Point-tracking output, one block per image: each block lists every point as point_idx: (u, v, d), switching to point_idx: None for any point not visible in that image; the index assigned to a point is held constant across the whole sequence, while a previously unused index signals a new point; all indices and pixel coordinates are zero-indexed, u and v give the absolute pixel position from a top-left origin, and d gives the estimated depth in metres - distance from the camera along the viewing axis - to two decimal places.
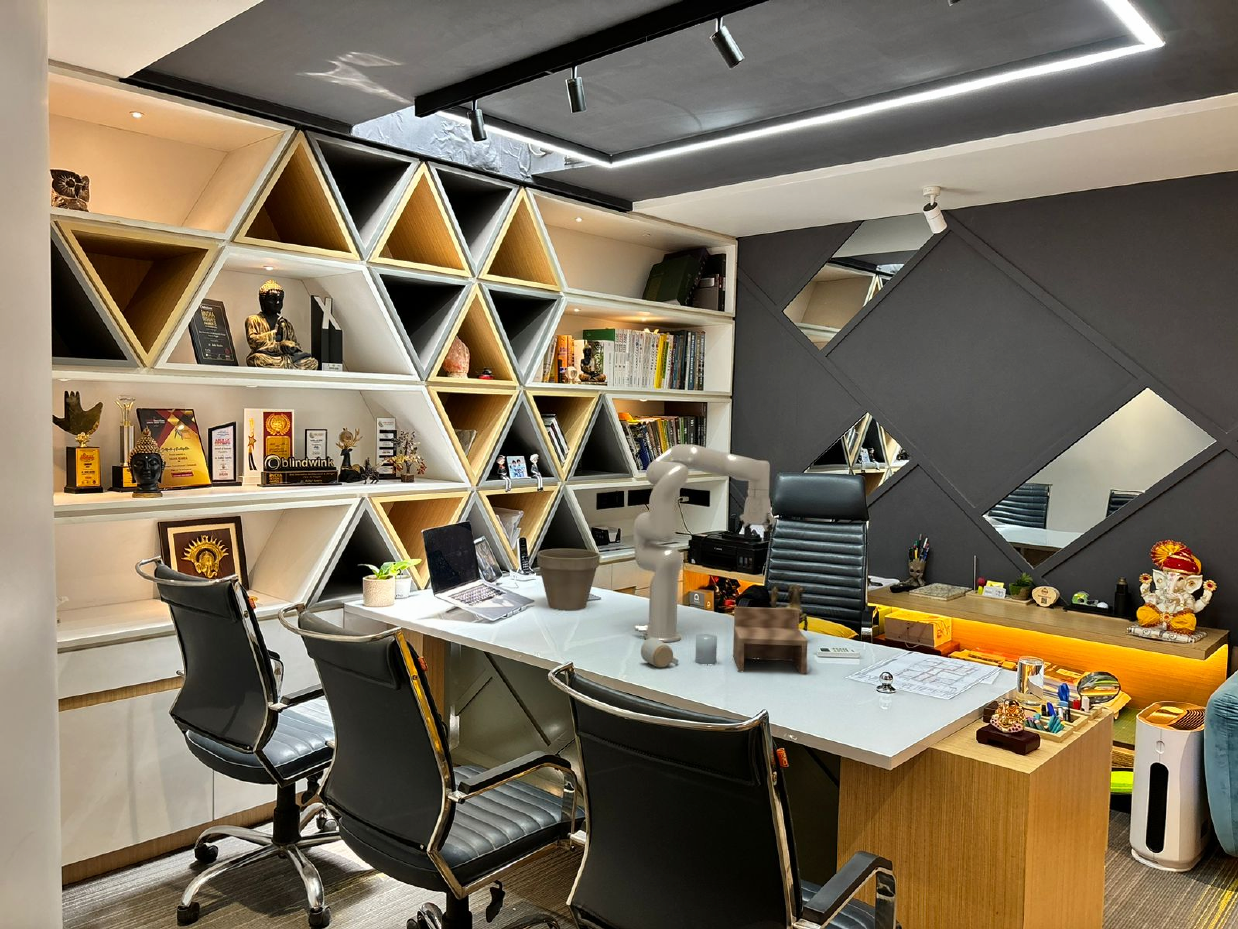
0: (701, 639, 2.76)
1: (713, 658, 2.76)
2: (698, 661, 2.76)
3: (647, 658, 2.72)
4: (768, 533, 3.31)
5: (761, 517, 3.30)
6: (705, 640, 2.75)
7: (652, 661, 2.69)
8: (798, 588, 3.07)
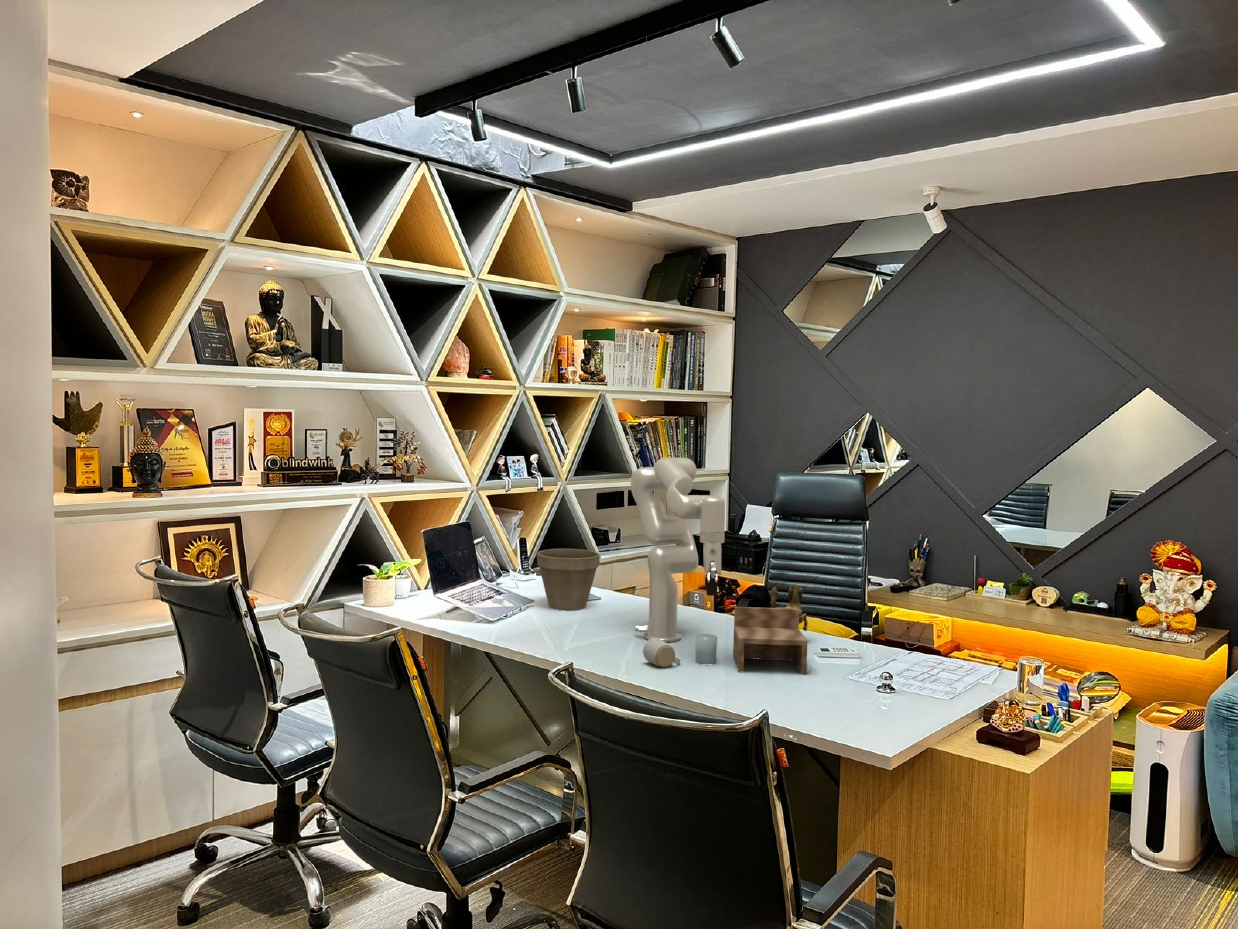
0: (701, 639, 2.76)
1: (713, 658, 2.76)
2: (698, 661, 2.76)
3: (649, 658, 2.72)
4: None
5: None
6: (705, 640, 2.75)
7: (654, 661, 2.70)
8: (798, 588, 3.06)
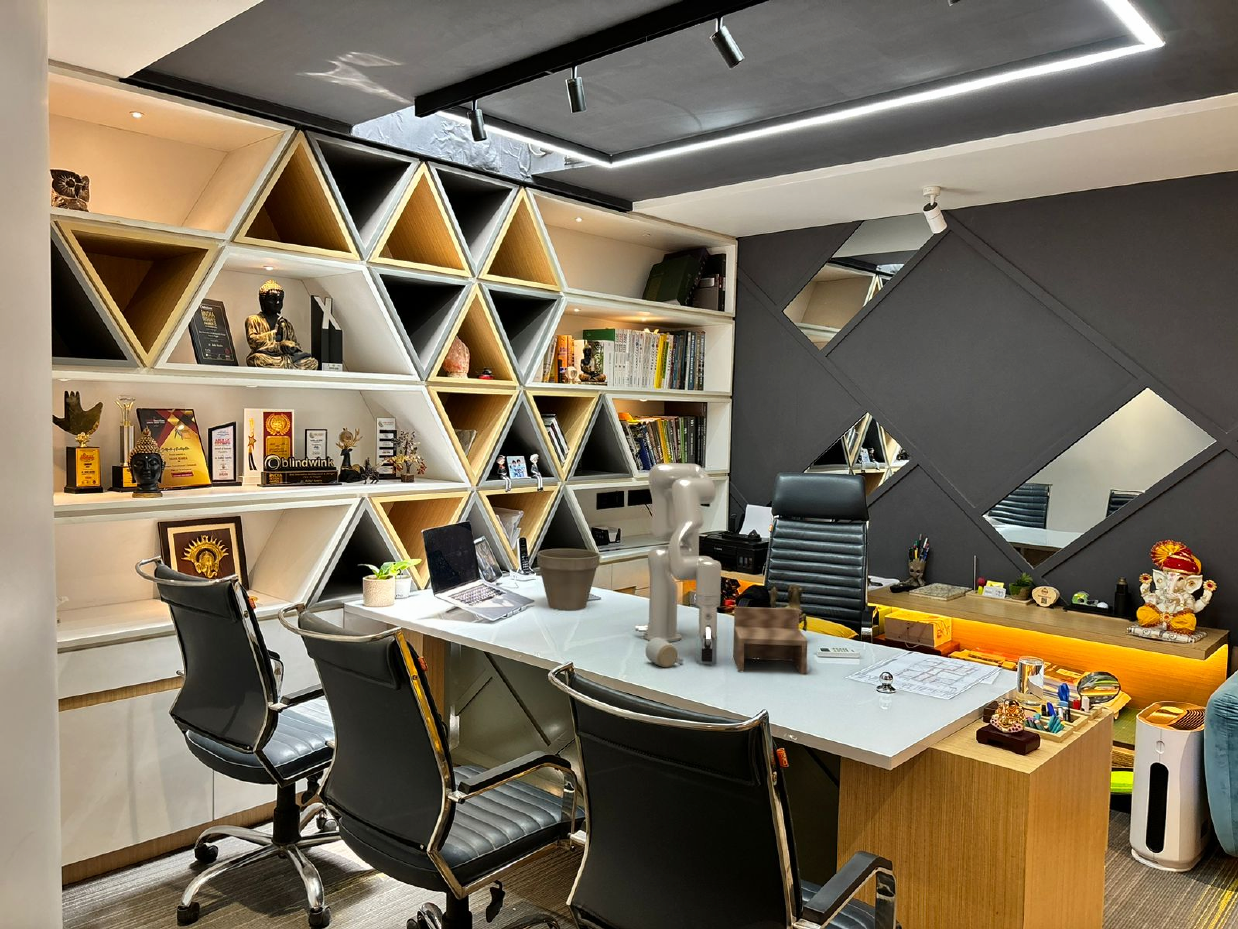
0: (701, 639, 2.76)
1: (713, 658, 2.76)
2: (698, 661, 2.76)
3: (652, 658, 2.72)
4: None
5: None
6: (705, 640, 2.75)
7: (657, 661, 2.70)
8: (797, 588, 3.06)
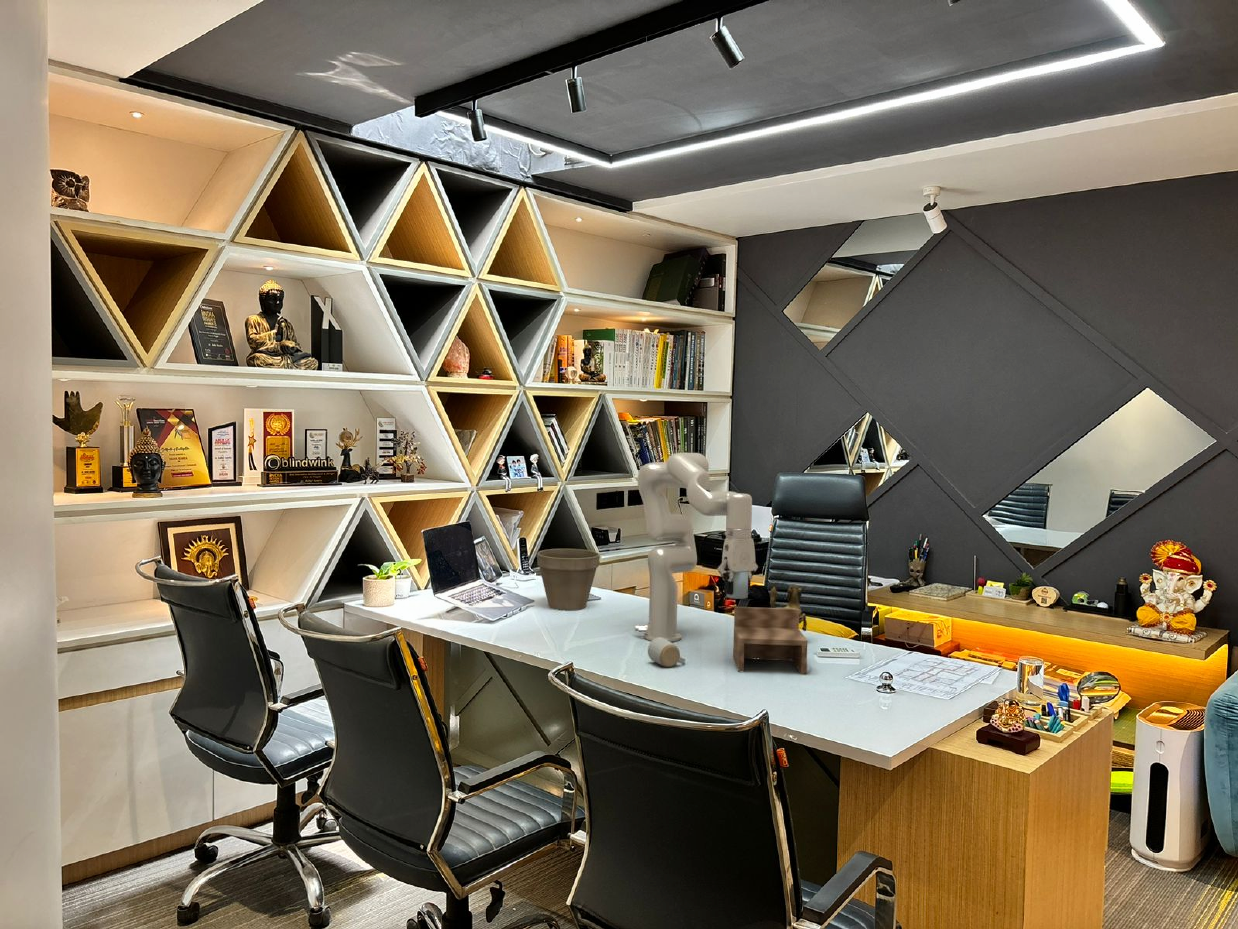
0: None
1: (735, 592, 2.73)
2: None
3: (654, 657, 2.73)
4: None
5: (754, 561, 2.76)
6: None
7: (659, 660, 2.70)
8: (797, 588, 3.06)
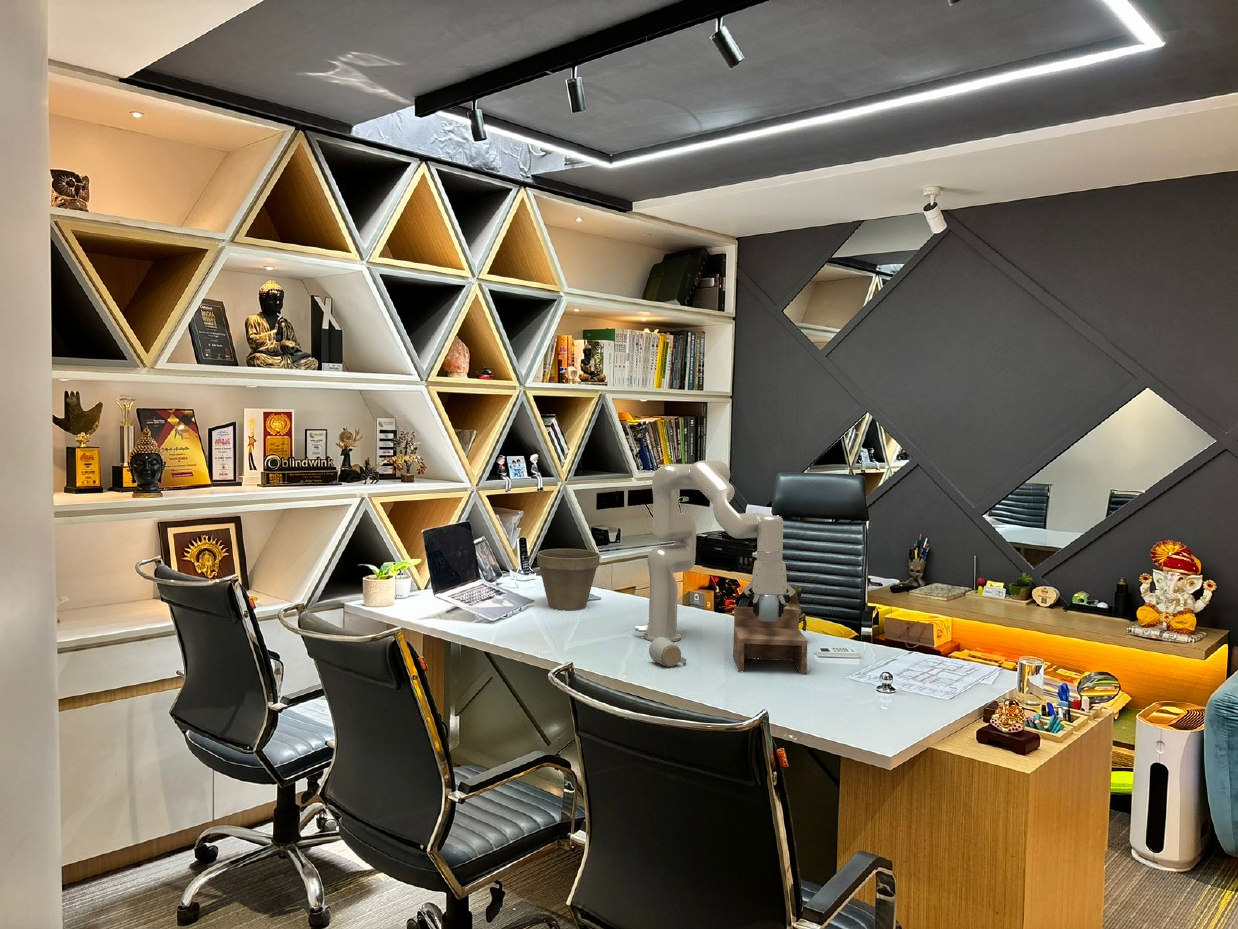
0: None
1: (760, 614, 2.72)
2: None
3: (655, 657, 2.73)
4: None
5: (784, 585, 2.71)
6: None
7: (660, 660, 2.70)
8: (797, 588, 3.06)
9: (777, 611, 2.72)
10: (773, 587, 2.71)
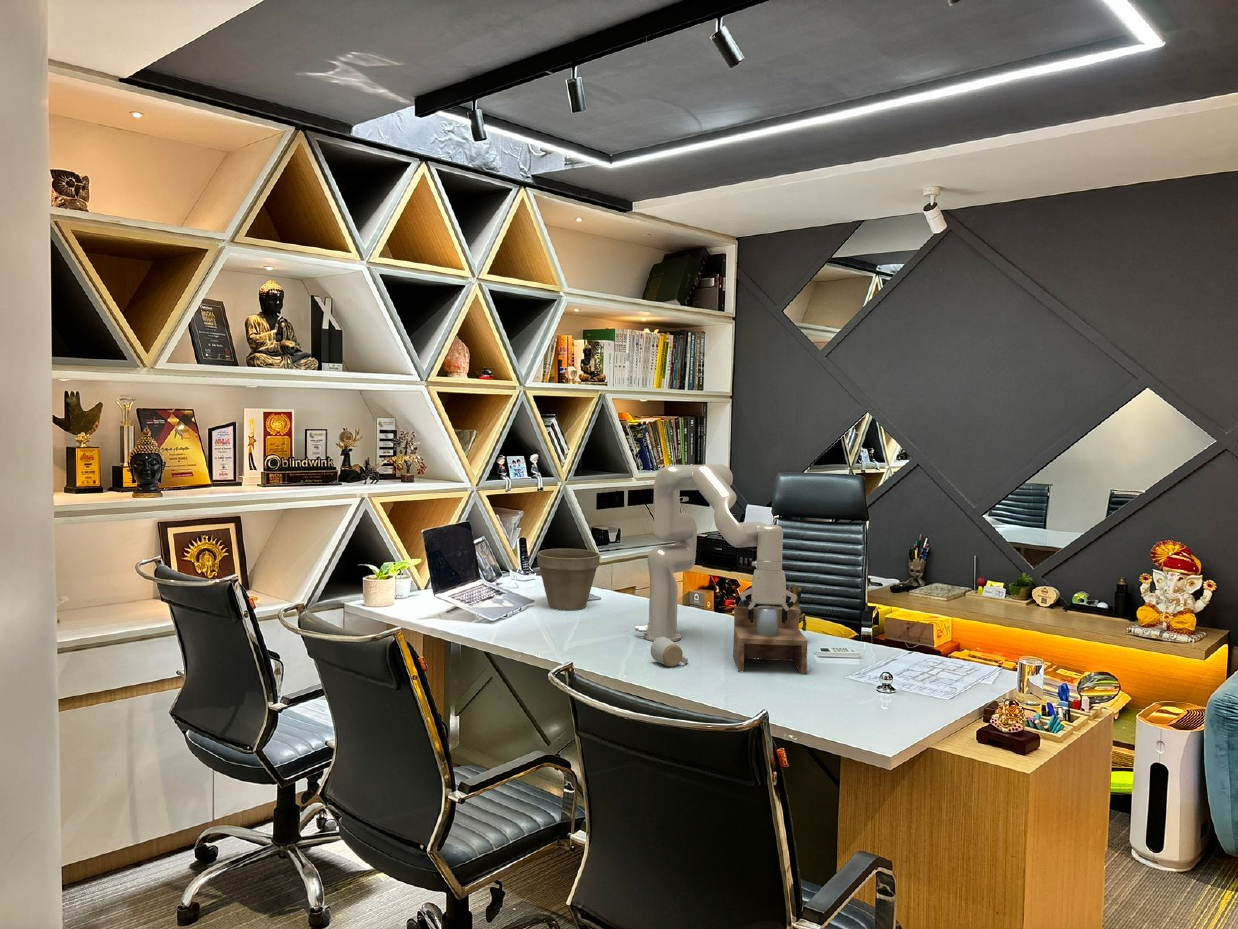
0: None
1: (759, 629, 2.72)
2: None
3: (657, 657, 2.73)
4: None
5: (783, 595, 2.71)
6: None
7: (662, 660, 2.71)
8: (797, 588, 3.06)
9: (776, 626, 2.72)
10: (772, 596, 2.71)
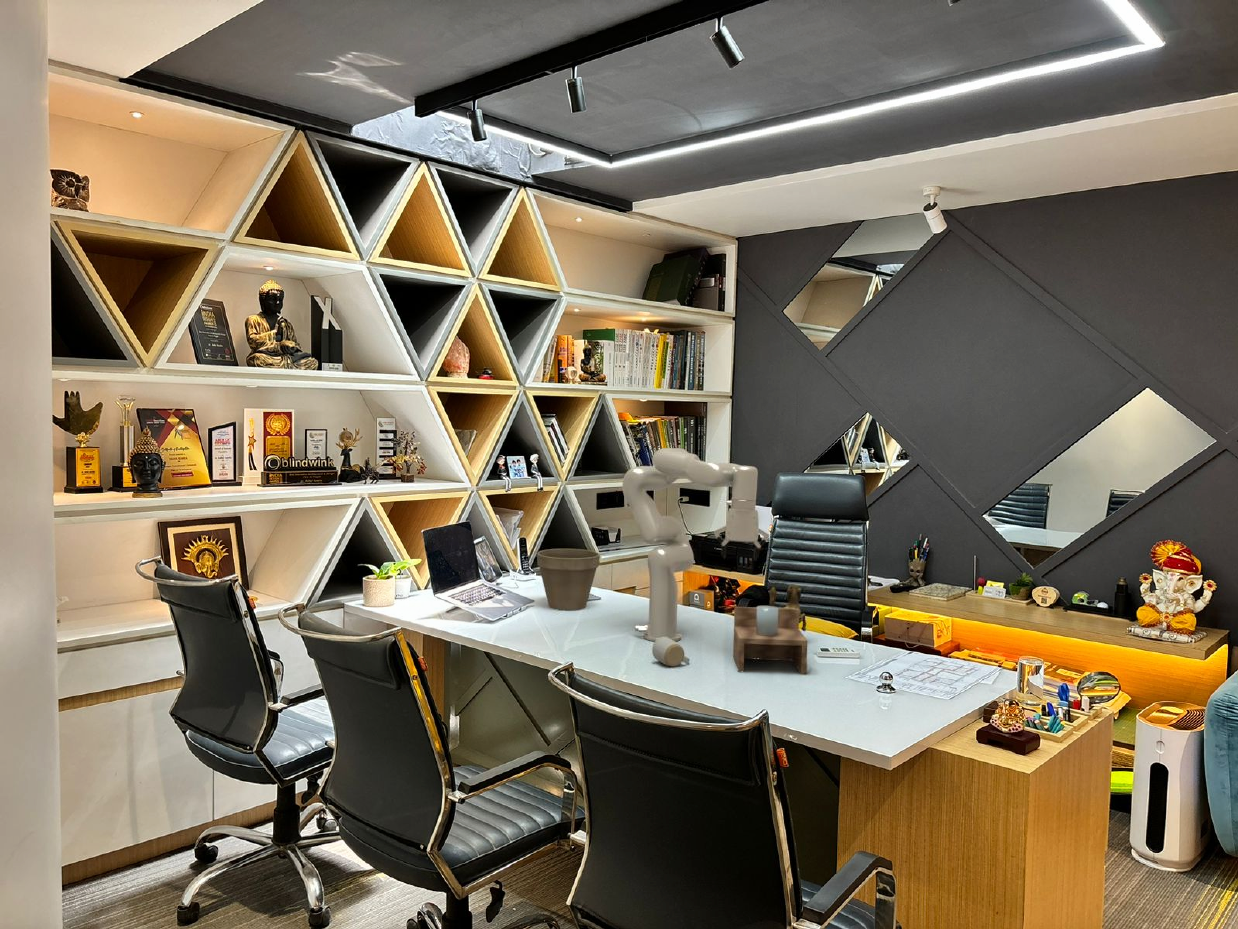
0: None
1: (759, 629, 2.72)
2: None
3: (658, 657, 2.73)
4: None
5: (756, 533, 2.83)
6: None
7: (663, 660, 2.71)
8: (796, 588, 3.06)
9: (776, 626, 2.72)
10: (745, 534, 2.83)
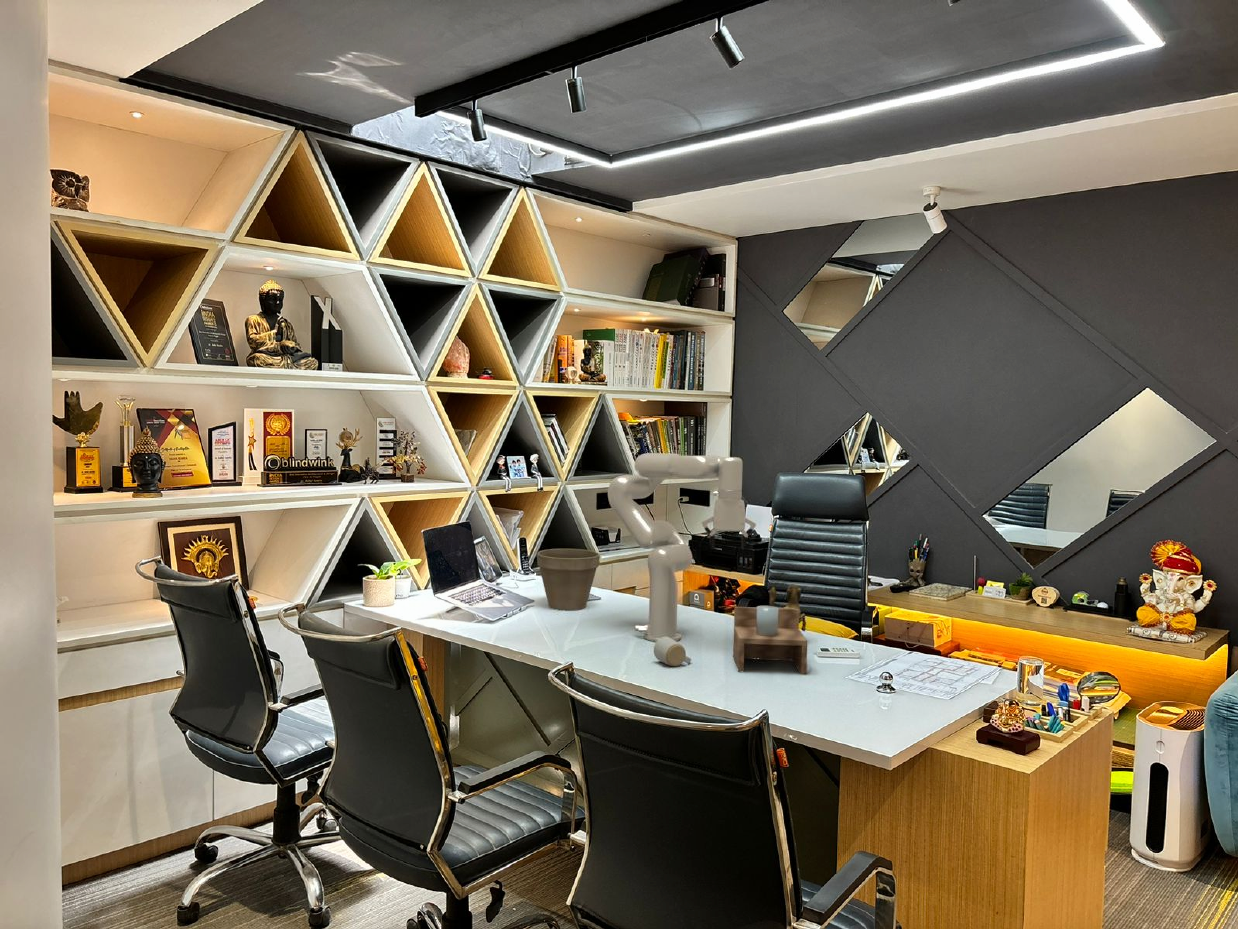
0: None
1: (759, 629, 2.73)
2: None
3: (660, 657, 2.73)
4: (746, 539, 2.91)
5: (743, 522, 2.89)
6: None
7: (665, 660, 2.71)
8: (796, 588, 3.06)
9: (776, 626, 2.72)
10: (732, 523, 2.89)
